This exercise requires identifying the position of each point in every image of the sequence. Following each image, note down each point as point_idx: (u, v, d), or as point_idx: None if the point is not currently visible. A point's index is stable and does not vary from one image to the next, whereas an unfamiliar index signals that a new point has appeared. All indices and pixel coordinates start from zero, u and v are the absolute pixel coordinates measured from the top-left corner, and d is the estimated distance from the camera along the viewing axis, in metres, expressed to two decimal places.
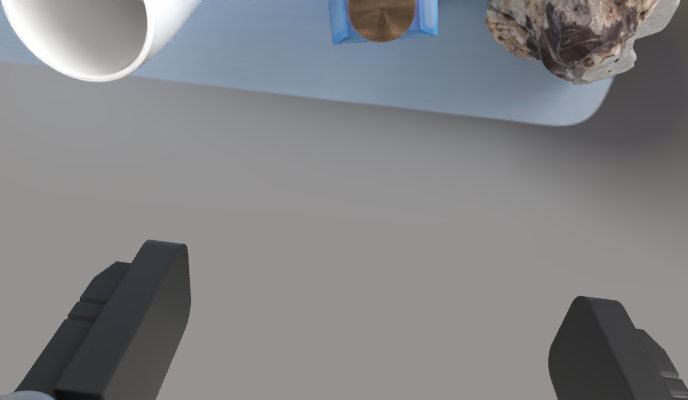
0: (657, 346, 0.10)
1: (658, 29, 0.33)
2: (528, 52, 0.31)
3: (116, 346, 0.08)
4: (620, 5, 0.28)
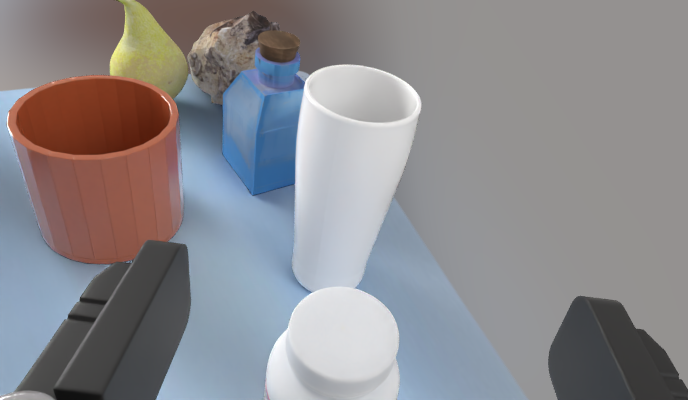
0: (657, 346, 0.10)
1: None
2: None
3: (116, 346, 0.08)
4: (232, 22, 0.50)
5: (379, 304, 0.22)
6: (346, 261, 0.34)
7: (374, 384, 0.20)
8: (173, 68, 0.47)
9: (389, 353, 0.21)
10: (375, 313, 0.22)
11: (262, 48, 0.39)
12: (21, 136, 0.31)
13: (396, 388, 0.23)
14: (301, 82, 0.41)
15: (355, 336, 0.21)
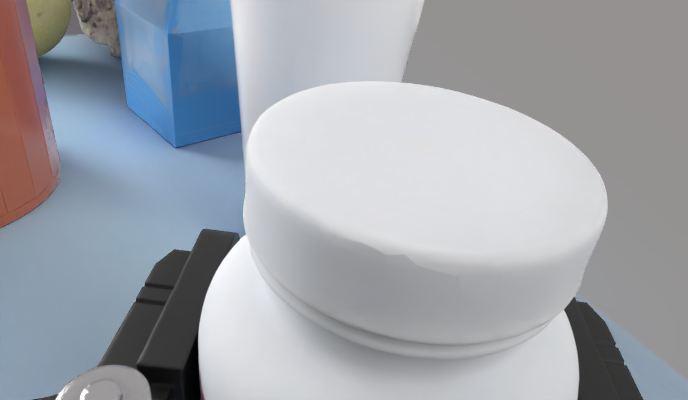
0: (598, 317, 0.10)
1: None
2: None
3: (189, 326, 0.08)
4: None
5: (492, 105, 0.08)
6: None
7: (570, 287, 0.06)
8: None
9: (588, 185, 0.06)
10: (492, 118, 0.08)
11: None
12: None
13: (572, 332, 0.08)
14: None
15: (464, 158, 0.07)
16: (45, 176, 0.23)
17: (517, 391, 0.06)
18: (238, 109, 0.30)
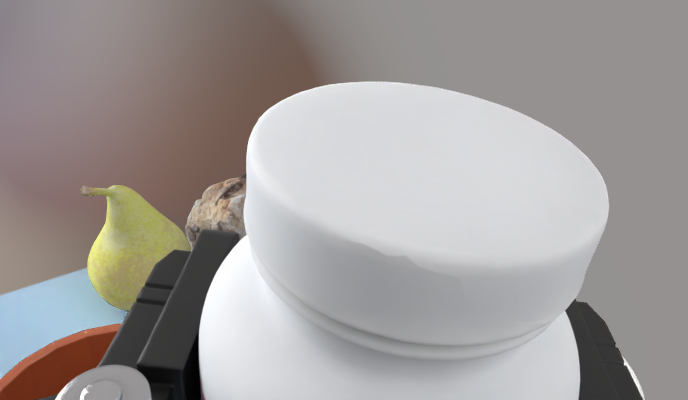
0: (598, 317, 0.10)
1: None
2: None
3: (189, 326, 0.08)
4: (241, 183, 0.39)
5: (494, 105, 0.08)
6: None
7: (571, 288, 0.06)
8: None
9: (590, 187, 0.06)
10: (493, 118, 0.08)
11: None
12: None
13: (573, 333, 0.08)
14: None
15: (465, 159, 0.07)
16: None
17: (518, 392, 0.06)
18: None
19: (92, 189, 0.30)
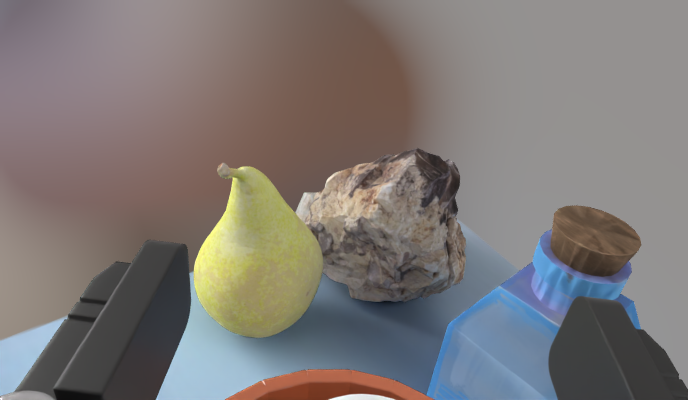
0: (657, 346, 0.10)
1: None
2: None
3: (116, 346, 0.08)
4: (380, 169, 0.30)
5: None
6: None
7: None
8: (312, 268, 0.27)
9: None
10: None
11: (579, 255, 0.19)
12: None
13: None
14: None
15: None
16: None
17: None
18: None
19: (229, 169, 0.21)
